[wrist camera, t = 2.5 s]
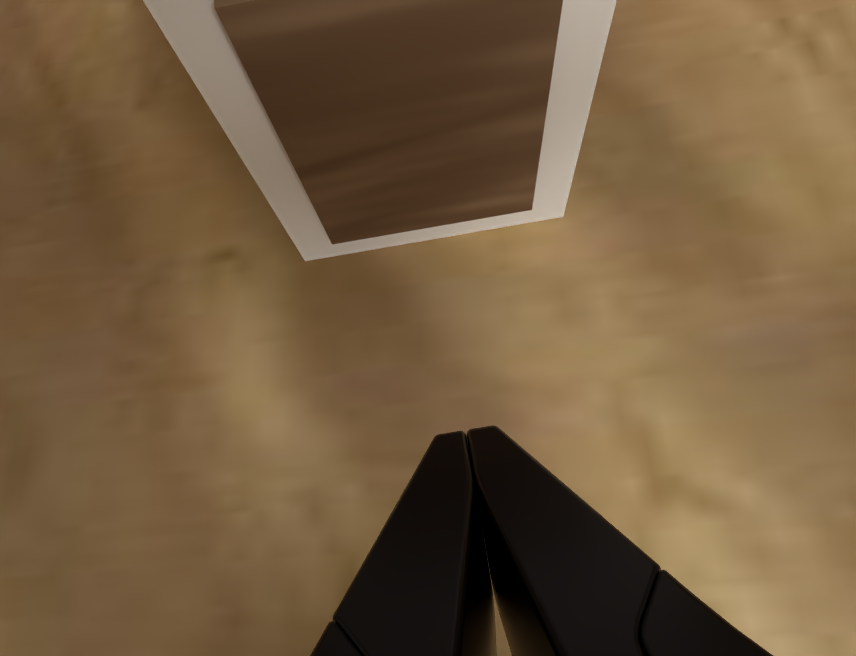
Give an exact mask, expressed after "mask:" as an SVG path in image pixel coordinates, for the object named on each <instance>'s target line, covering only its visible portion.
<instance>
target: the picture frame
mask: <svg viewBox="0 0 856 656" xmlns="http://www.w3.org/2000/svg"><path fill="white" fill-rule="evenodd" d="M143 1H144V3H145V5H146V6H147V8H148V10H149V11H150V13H151V14H152V16H153V18H154V19H155V21H156V22H157V24H158V26H159V27H160V29H161V30H162V32H163V34H164V35H165V37H166V38H167V40H168V42H169V43H170V45H171V47H172V48H173V50H174V51H175V53H176V55H177V56H178V58H179V59H180V61H181V63H182V64H183V66H184V67H185V69H186V71H187V72H188V74H189V75H190V77H191V79H192V80H193V82H194V84H195V85H196V87H197V88H198V90H199V92H200V93H201V95H202V96H203V98H204V100H205V101H206V103H207V104H208V106H209V108H210V109H211V111H212V112H213V114H214V116H215V117H216V119H217V120H218V122H219V124H220V125H221V127H222V129H223V130H224V132H225V133H226V135H227V137H228V138H229V140H230V141H231V143H232V145H233V146H234V148H235V149H236V151H237V153H238V154H239V156H240V157H241V159H242V161H243V162H244V164H245V166H246V167H247V169H248V170H249V172H250V174H251V175H252V177H253V178H254V180H255V182H256V183H257V185H258V186H259V188H260V190H261V191H262V193H263V194H264V196H265V198H266V199H267V201H268V203H269V204H270V206H271V207H272V209H273V211H274V212H275V214H276V215H277V217H278V219H279V220H280V222H281V223H282V225H283V227H284V228H285V230H286V231H287V233H288V235H289V236H290V238H291V240H292V241H293V243H294V244H295V246H296V248H297V249H298V251H299V252H300V254H301V256H302V257H303V259H304V260H305V261H310V260H316V259H321V258H327V257H333V256H339V255H345V254H350V253H356V252H362V251H368V250H373V249H379V248H385V247H391V246H397V245H402V244H408V243H414V242H420V241H426V240H431V239H437V238H443V237H449V236H454V235H460V234H466V233H472V232H478V231H483V230H489V229H495V228H501V227H507V226H512V225H518V224H524V223H530V222H536V221H541V220H547V219H553V218H559V217H563V216H564V212H565V208H566V204H567V200H568V195H569V191H570V187H571V183H572V179H573V175H574V171H575V167H576V163H577V159H578V155H579V151H580V147H581V143H582V139H583V135H584V131H585V127H586V122H587V118H588V114H589V110H590V106H591V102H592V98H593V94H594V90H595V86H596V82H597V78H598V74H599V70H600V66H601V62H602V58H603V53H604V49H605V45H606V41H607V37H608V33H609V29H610V25H611V21H612V17H613V13H614V9H615V5H616V1H617V0H143Z"/></svg>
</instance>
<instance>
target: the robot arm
mask: <svg viewBox="0 0 856 656" xmlns="http://www.w3.org/2000/svg"><path fill="white" fill-rule="evenodd" d="M467 441H468V442H467ZM468 447H469V448H468ZM484 540H485V541H484ZM485 546H486V547H485ZM486 552H487V553H486ZM487 558H488V559H487ZM488 563H489V565H488ZM489 569H490V571H489ZM490 575H491V577H490ZM491 580H492V584H491ZM492 585H493V590H494V595H495V599H496V603H497V606H498V610H499V614H500V617H501V620H502V624H503V627H504V630H505V634H506V637H507V640H508V643H509V647H510V650H511V653H512V656H773V655H771V654H770V653H769V652H767V651H766V650H765V649H763V648H762V647H761V646H759V645H758V644H756V643H755V642H754V641H752V640H751V639H750V638H748V637H747V636H746V635H744V634H743V633H741V632H740V631H739V630H737V629H736V628H735V627H733V626H732V625H731V624H730V623H728V622H727V621H726V620H725V619H723V618H722V617H721V616H720V615H719V614H717V613H716V612H715V611H714V610H712V609H711V608H710V607H709V606H707V605H706V604H705V603H704V602H702V601H701V600H700V599H699V598H698V597H696V596H695V595H694V594H693V593H691V592H690V591H689V590H688V589H687V588H685V587H684V586H683V585H682V584H681V583H680V582H678V581H677V580H676V579H675V578H674V577H673V576H672V575H670V574H669V573H668V572H667V571H665V570H661V568H660V566H659V565H658V564H657V563H656V562H655V561H654V560H652V559H651V558H650V557H649V556H648V555H647V554H645V553H644V552H643V551H642V550H641V549H640V548H638V547H637V546H636V545H635V544H634V543H633V542H631V541H630V540H629V539H628V538H627V537H626V536H624V535H623V534H622V533H621V532H620V531H619V530H617V529H616V528H615V527H614V526H613V525H612V524H610V523H609V522H608V521H607V520H606V519H605V518H603V517H602V516H601V515H600V514H599V513H598V512H596V511H595V510H594V509H593V508H592V507H591V506H589V505H588V504H587V503H586V502H585V501H584V500H582V499H581V498H580V497H579V496H578V495H577V494H575V493H574V492H573V491H572V490H571V489H570V488H568V487H567V486H566V485H565V484H564V483H563V482H561V481H560V480H559V479H558V478H557V477H556V476H554V475H553V474H552V473H551V472H550V471H549V470H547V469H546V468H545V467H544V466H543V465H542V464H540V463H539V462H538V461H537V460H536V459H535V458H533V457H532V456H531V455H530V454H529V453H528V452H526V451H525V450H524V449H523V448H522V447H521V446H519V445H518V444H517V443H516V442H515V441H514V440H512V439H511V438H510V437H509V436H508V435H506V434H505V433H504V432H503V431H502V430H501V429H499V428H498V427H497V426H487V427H481V428H475V429H470V430H469V431H468V432H467V437H466V434H465V433H464V432H463V431H457V432H451V433H444V434H439V435H437V436H435V437H434V439H433V441H432V442H431V444H430V446H429V448H428V449H427V451H426V453H425V455H424V456H423V458H422V460H421V462H420V464H419V465H418V467H417V469H416V471H415V472H414V474H413V476H412V478H411V479H410V481H409V483H408V485H407V487H406V488H405V490H404V492H403V494H402V495H401V497H400V499H399V501H398V502H397V504H396V506H395V508H394V509H393V511H392V513H391V515H390V517H389V518H388V520H387V522H386V524H385V525H384V527H383V529H382V531H381V532H380V534H379V536H378V538H377V540H376V541H375V543H374V545H373V547H372V548H371V550H370V552H369V554H368V555H367V557H366V559H365V561H364V562H363V564H362V566H361V568H360V570H359V571H358V573H357V575H356V577H355V578H354V580H353V582H352V584H351V585H350V587H349V589H348V591H347V593H346V594H345V596H344V598H343V600H342V601H341V603H340V605H339V607H338V608H337V610H336V612H335V614H334V615H333V621H332V622H330V623H329V624H328V625H327V627H326V629H325V631H324V632H323V634H322V636H321V638H320V640H319V641H318V643H317V645H316V647H315V648H314V650H313V652H312V654H311V655H310V656H497V652H496V631H495V612H494V599H493V591H492Z"/></svg>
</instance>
